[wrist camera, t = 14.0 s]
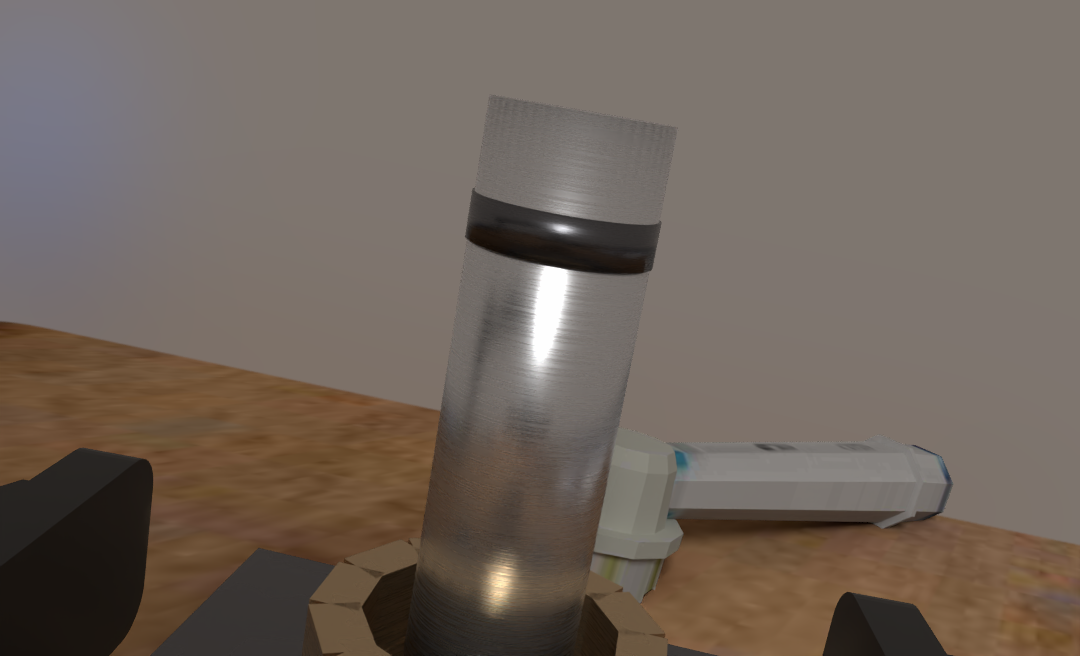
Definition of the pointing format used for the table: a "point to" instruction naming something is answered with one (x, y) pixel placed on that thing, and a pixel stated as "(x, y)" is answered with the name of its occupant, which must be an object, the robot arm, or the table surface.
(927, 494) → the grey faceted piece
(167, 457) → the table surface
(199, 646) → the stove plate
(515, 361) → the silver tall cylinder
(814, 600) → the table surface
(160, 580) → the table surface
